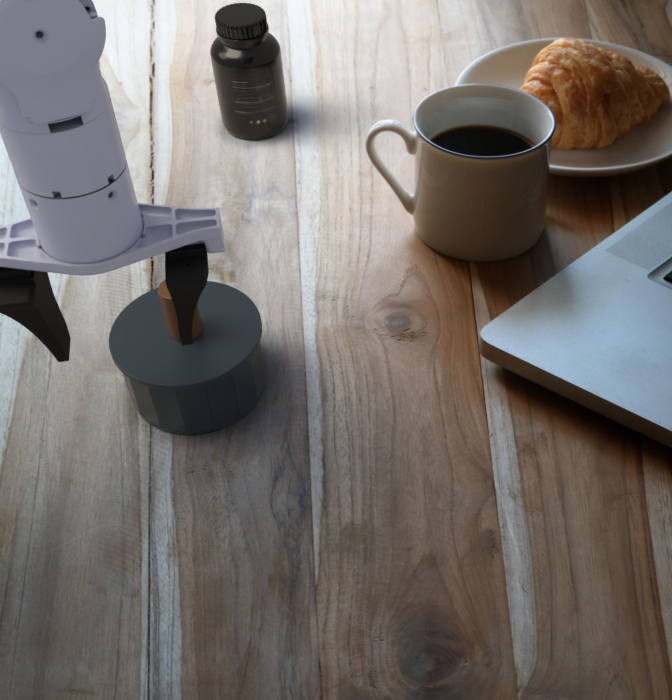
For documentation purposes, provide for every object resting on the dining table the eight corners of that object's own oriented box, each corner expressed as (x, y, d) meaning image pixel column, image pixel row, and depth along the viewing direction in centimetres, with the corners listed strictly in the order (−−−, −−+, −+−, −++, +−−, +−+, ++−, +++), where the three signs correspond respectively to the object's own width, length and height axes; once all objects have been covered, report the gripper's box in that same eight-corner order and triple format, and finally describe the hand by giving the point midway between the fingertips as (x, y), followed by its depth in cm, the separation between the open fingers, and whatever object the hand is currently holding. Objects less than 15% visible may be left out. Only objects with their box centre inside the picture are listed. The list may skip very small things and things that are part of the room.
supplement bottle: (218, 110, 98) (199, 0, 89) (282, 101, 100) (270, -7, 91) (227, 146, 94) (208, 34, 85) (294, 136, 95) (283, 26, 87)
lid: (110, 406, 64) (90, 353, 60) (113, 300, 71) (96, 246, 67) (269, 384, 66) (260, 330, 62) (257, 282, 73) (248, 229, 69)
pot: (131, 444, 67) (114, 395, 64) (133, 346, 74) (117, 297, 70) (271, 423, 69) (262, 374, 65) (260, 330, 76) (252, 280, 72)
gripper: (205, 115, 54) (235, 287, 64) (-61, 139, 52) (13, 314, 62) (211, 186, 50) (243, 360, 60) (-81, 216, 47) (3, 393, 57)
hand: (126, 342), depth 60 cm, fingers open, 7 cm apart
